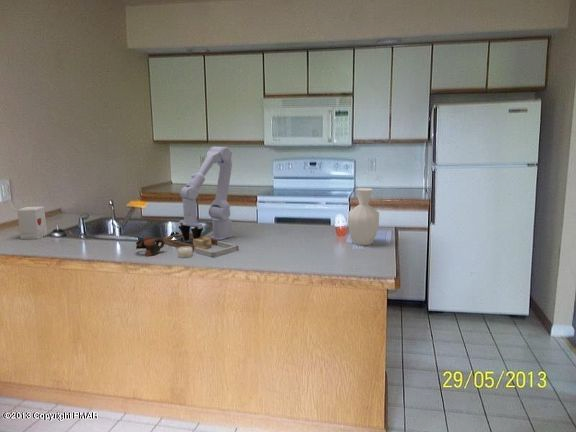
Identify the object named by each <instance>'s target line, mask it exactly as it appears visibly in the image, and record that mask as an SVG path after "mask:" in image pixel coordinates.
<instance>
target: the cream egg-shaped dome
mask: <svg viewBox="0 0 576 432" xmlns="http://www.w3.org/2000/svg"><path fill="white" fill-rule="evenodd" d="M193 252H194V251H192V247H190V246H183V247H179V248H178V247H177V255H178V256H177V257H178V258H181V259H189V258H192V257H193V256H194V254H193ZM188 257H189V258H188Z"/></svg>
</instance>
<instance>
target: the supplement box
mask: <svg viewBox="0 0 576 432" xmlns="http://www.w3.org/2000/svg"><path fill="white" fill-rule="evenodd" d="M16 212H17V219H18V226H19V235H20V240H39V239H41V238H43V236H44V237H46V236H47V235H48V229H47V221H46V212H45V206H40V205H39V206H25V207H22V208H19V209H17V211H16ZM45 235H46V236H45Z"/></svg>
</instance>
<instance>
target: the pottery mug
mask: <svg viewBox="0 0 576 432" xmlns="http://www.w3.org/2000/svg"><path fill="white" fill-rule="evenodd" d="M135 244H136V247H135V249H136V250H139V249H140V250H141V249H144V250H146V251H145V252H144V253H145V255H146V257H151V256H153V255H159V252H161V249H163V248H164V247H165V245H166V244H165V242H164V240H163V239H162V238H157V239H154V238H153V236H148V237H145V238H141V239H140V240H138V241H136V242H135ZM159 244H160V245H159Z"/></svg>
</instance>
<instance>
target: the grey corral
mask: <svg viewBox="0 0 576 432" xmlns="http://www.w3.org/2000/svg"><path fill="white" fill-rule="evenodd" d="M217 246H218V247H220V248H221V249H219V250H215V251H212V250H210V249H209V250H208V249H201V248H198V247H196V248H194V252H195V253H196V254H199V255H203V256H205V257H207V256H208V257H210V258H216V257H219V256H223V255H226V254H230V253H233V252H236V251H237V252H238V251H239V245H237V244H235V243H234V244H233V243H229V242H225V241H221V240H218V241H217Z"/></svg>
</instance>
